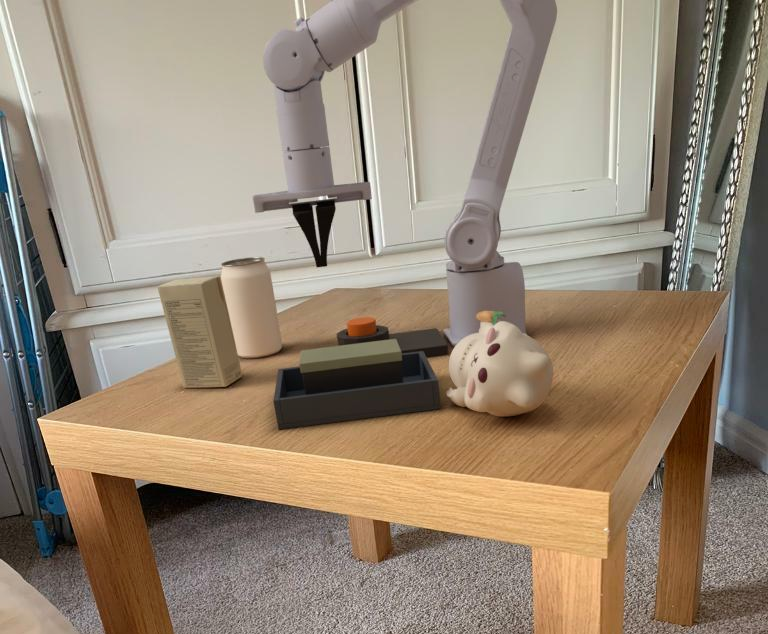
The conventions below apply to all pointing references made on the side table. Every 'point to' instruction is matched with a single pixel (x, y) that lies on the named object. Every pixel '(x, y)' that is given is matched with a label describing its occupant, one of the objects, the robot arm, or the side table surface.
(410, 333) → the control block
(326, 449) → the side table surface
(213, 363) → the cosmetic box
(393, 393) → the tray
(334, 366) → the green-topped black block
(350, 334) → the button
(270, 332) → the can
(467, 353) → the cat figurine
